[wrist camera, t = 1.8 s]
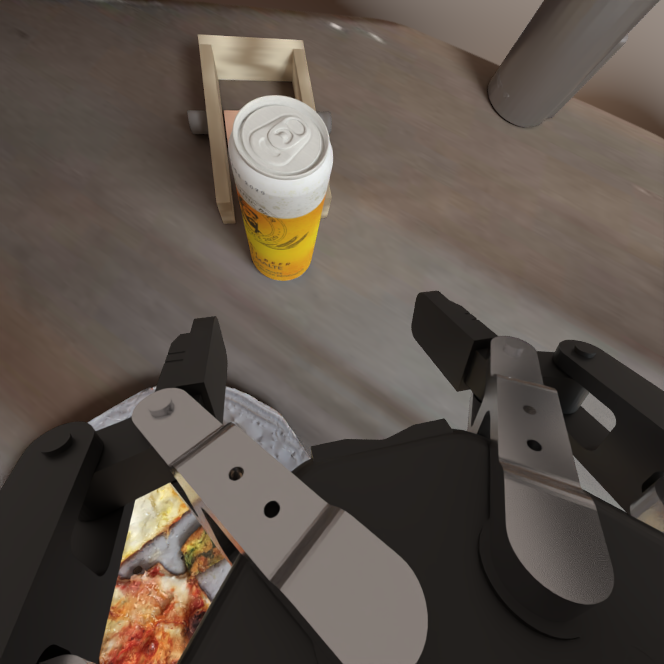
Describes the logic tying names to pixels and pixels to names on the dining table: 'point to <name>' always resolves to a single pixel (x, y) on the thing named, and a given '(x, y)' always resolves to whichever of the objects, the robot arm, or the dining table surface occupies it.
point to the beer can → (280, 181)
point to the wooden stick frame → (245, 64)
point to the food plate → (177, 548)
